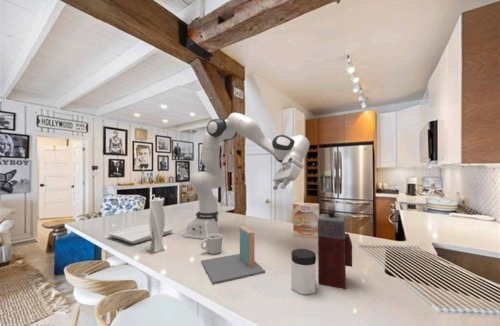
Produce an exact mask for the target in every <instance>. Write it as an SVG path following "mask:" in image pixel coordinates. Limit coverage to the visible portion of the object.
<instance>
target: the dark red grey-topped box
mask: <svg viewBox="0 0 500 326" xmlns="http://www.w3.org/2000/svg"><path fill="white" fill-rule="evenodd" d="M335 208H336V206H335V203H328V204H327V213H321V214H320V213H319V219H318V239H317V261H318V262H317V263H318V264H317V265H318V269H317V270H318V271H317V273H318V274H317V276H318V278H317V279H318V281H317V282H318V285H319V286H320V285H321V286H326V287H331V288H335V287H336V289H340V288H341V289H342V290H346V289H347V286H346V285H347V283H346V282H347V279H346V277H347V274H346V267H351V268H352V267H353V244H352V239H351V237H350V234H349V233H346V221H345V219H346V218H345V215H343V214H336V209H335Z"/></svg>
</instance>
